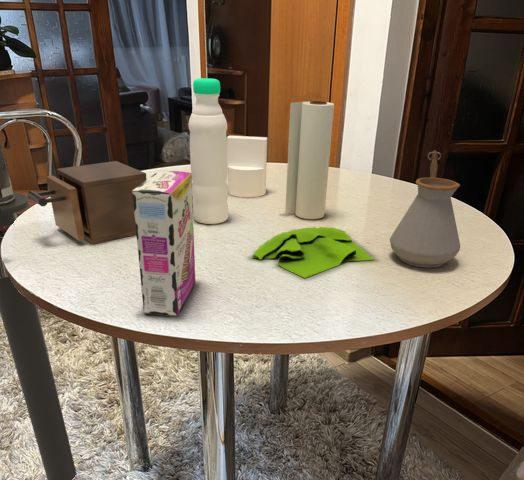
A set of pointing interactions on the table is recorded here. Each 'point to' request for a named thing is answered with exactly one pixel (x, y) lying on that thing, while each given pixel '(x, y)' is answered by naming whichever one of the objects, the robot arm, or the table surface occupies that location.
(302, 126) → the paper towel roll
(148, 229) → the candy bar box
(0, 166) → the robot arm
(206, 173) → the water bottle
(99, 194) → the cabinet
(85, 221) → the drawer
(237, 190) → the cylinder with rectangular tab
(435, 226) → the coffee pot
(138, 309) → the table surface
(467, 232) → the table surface
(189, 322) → the table surface
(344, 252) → the cloth
